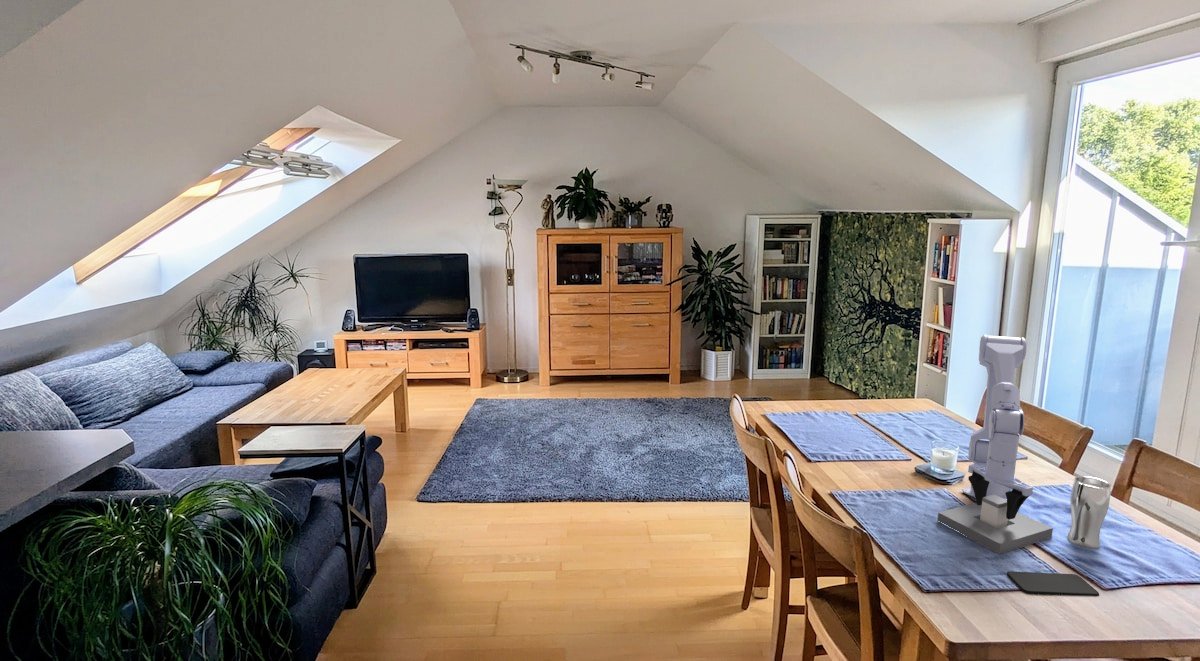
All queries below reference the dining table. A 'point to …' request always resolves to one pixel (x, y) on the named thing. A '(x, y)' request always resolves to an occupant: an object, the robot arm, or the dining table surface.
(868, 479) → the dining table surface
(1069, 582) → the smartphone
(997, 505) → the plug
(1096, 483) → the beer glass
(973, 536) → the socket
